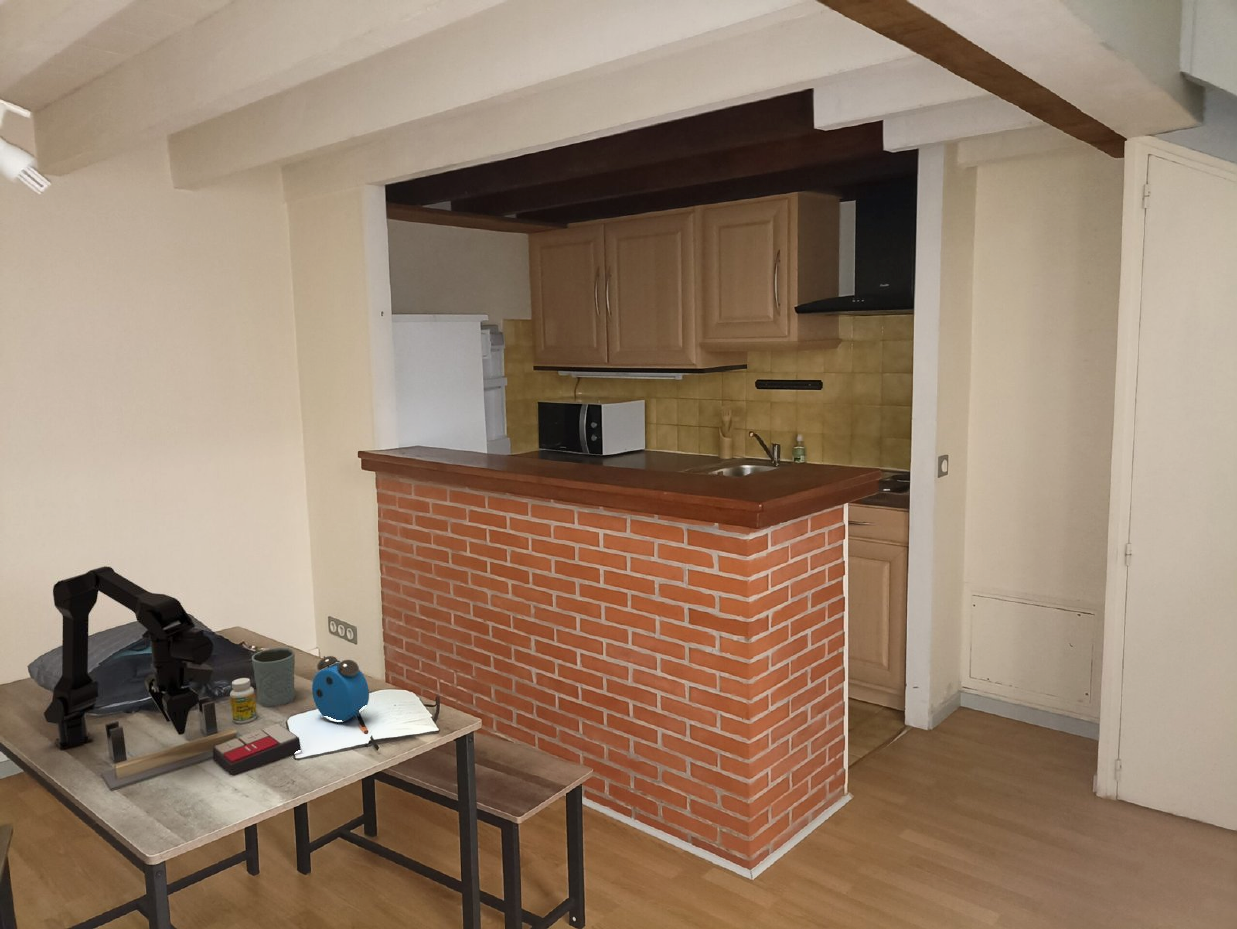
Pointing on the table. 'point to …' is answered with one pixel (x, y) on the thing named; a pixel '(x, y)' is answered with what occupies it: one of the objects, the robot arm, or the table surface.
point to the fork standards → (117, 736)
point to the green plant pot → (274, 676)
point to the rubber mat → (155, 770)
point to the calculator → (256, 749)
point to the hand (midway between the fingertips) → (175, 727)
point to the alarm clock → (339, 688)
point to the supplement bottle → (243, 701)
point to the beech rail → (172, 754)
